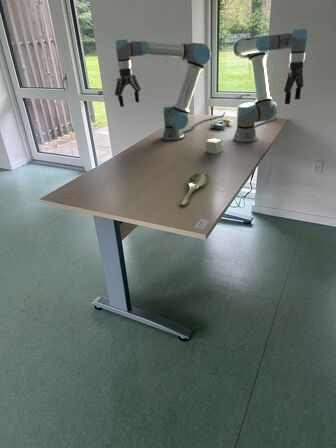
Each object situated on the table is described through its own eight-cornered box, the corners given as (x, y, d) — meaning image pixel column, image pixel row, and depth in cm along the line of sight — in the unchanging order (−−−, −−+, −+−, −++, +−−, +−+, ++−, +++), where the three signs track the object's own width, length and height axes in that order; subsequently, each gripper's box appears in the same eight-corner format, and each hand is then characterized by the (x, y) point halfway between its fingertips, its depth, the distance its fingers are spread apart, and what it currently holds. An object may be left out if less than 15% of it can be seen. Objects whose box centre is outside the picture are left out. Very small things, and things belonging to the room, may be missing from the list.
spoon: (193, 209, 156) (193, 205, 155) (172, 207, 159) (171, 203, 158) (212, 175, 182) (212, 172, 181) (193, 174, 186) (193, 170, 184)
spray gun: (235, 122, 269) (217, 122, 276) (235, 117, 267) (217, 117, 273) (227, 130, 254) (208, 130, 260) (227, 125, 252) (208, 124, 258)
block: (211, 149, 221) (211, 138, 217) (222, 151, 216) (222, 139, 212) (205, 152, 217) (205, 140, 213) (216, 154, 212) (216, 142, 208)
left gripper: (135, 65, 214) (139, 99, 225) (105, 71, 199) (111, 107, 210) (143, 65, 210) (147, 100, 221) (113, 71, 195) (119, 109, 206)
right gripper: (299, 58, 194) (295, 96, 205) (280, 64, 178) (276, 105, 189) (312, 58, 189) (307, 97, 200) (293, 64, 174) (289, 106, 185)
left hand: (129, 104), depth 216 cm, fingers open, 13 cm apart
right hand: (292, 101), depth 195 cm, fingers open, 13 cm apart
